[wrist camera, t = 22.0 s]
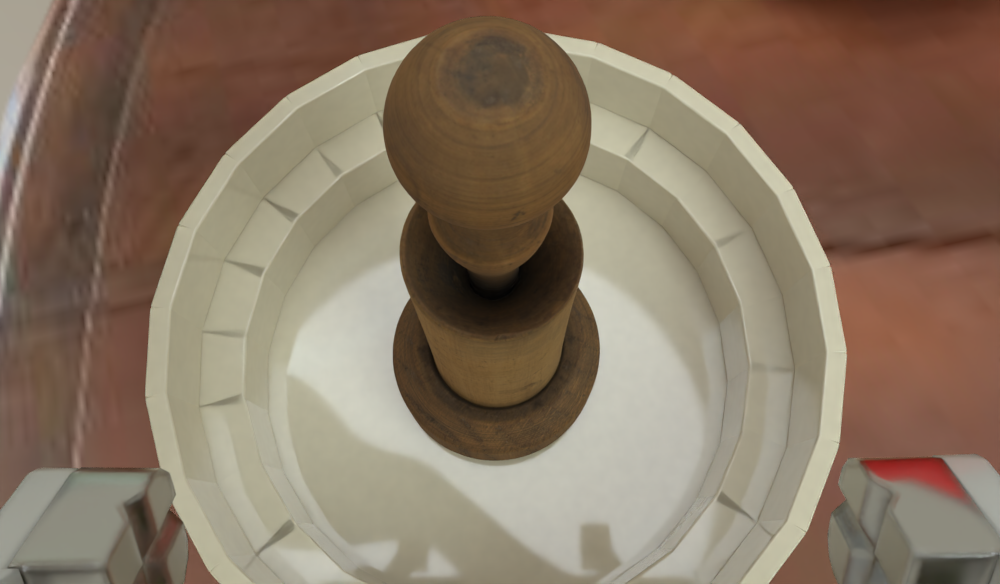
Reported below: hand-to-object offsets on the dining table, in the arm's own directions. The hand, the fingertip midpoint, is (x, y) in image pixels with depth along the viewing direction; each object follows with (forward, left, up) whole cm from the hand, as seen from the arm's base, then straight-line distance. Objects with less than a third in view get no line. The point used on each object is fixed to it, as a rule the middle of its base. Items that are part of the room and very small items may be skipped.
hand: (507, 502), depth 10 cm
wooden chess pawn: (+2, +5, -17) cm, 18 cm away
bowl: (+1, +5, -18) cm, 19 cm away
